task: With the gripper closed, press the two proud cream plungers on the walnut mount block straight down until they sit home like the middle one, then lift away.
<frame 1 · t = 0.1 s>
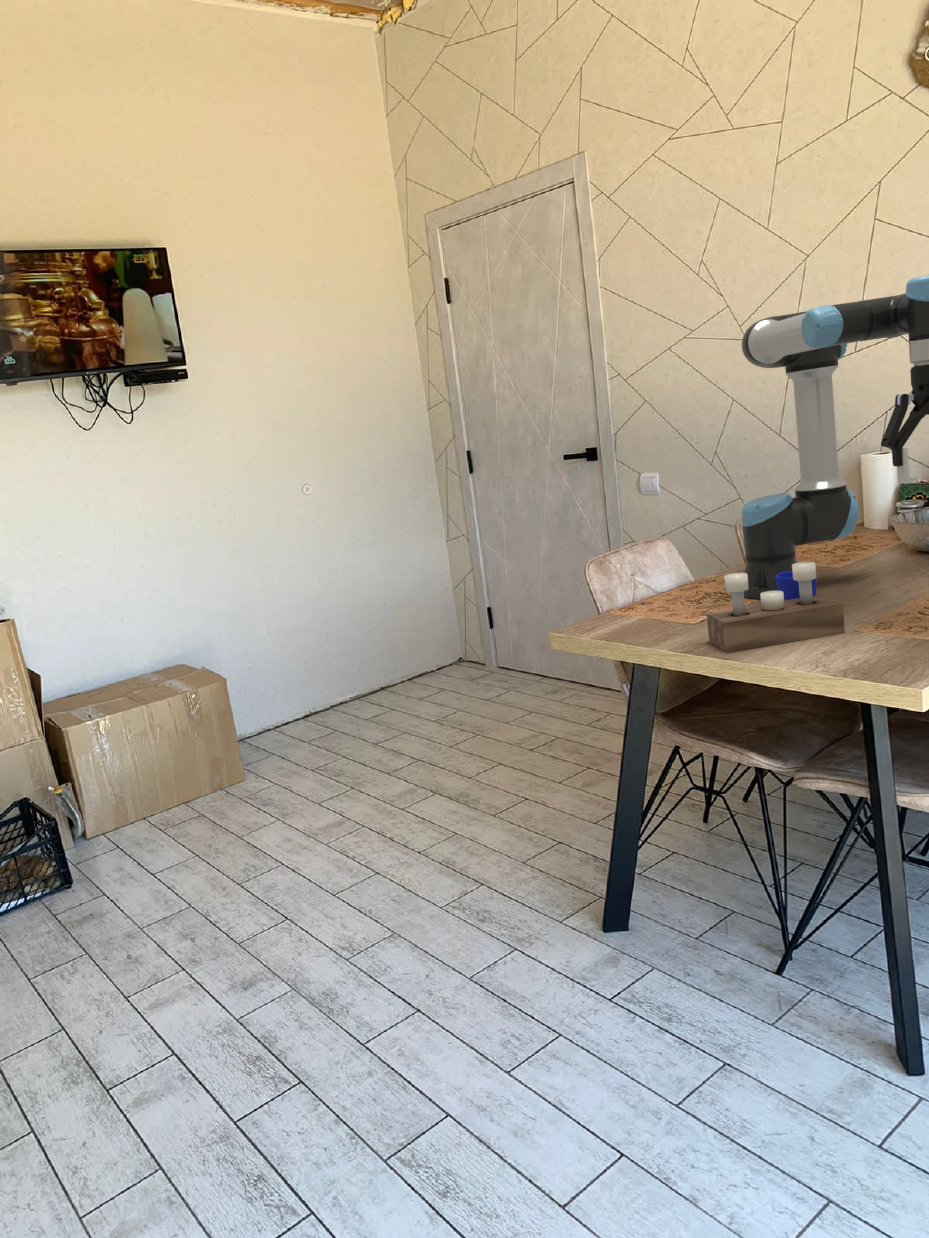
knob b: (773, 613, 188), point 5 cm above the table, slide at 4.8 cm
mount: (775, 637, 189), on the table
mug: (799, 618, 202), on the table
knob a: (737, 596, 186), point 10 cm above the table, slide at 0.0 cm
knob c: (805, 584, 187), point 10 cm above the table, slide at 0.0 cm
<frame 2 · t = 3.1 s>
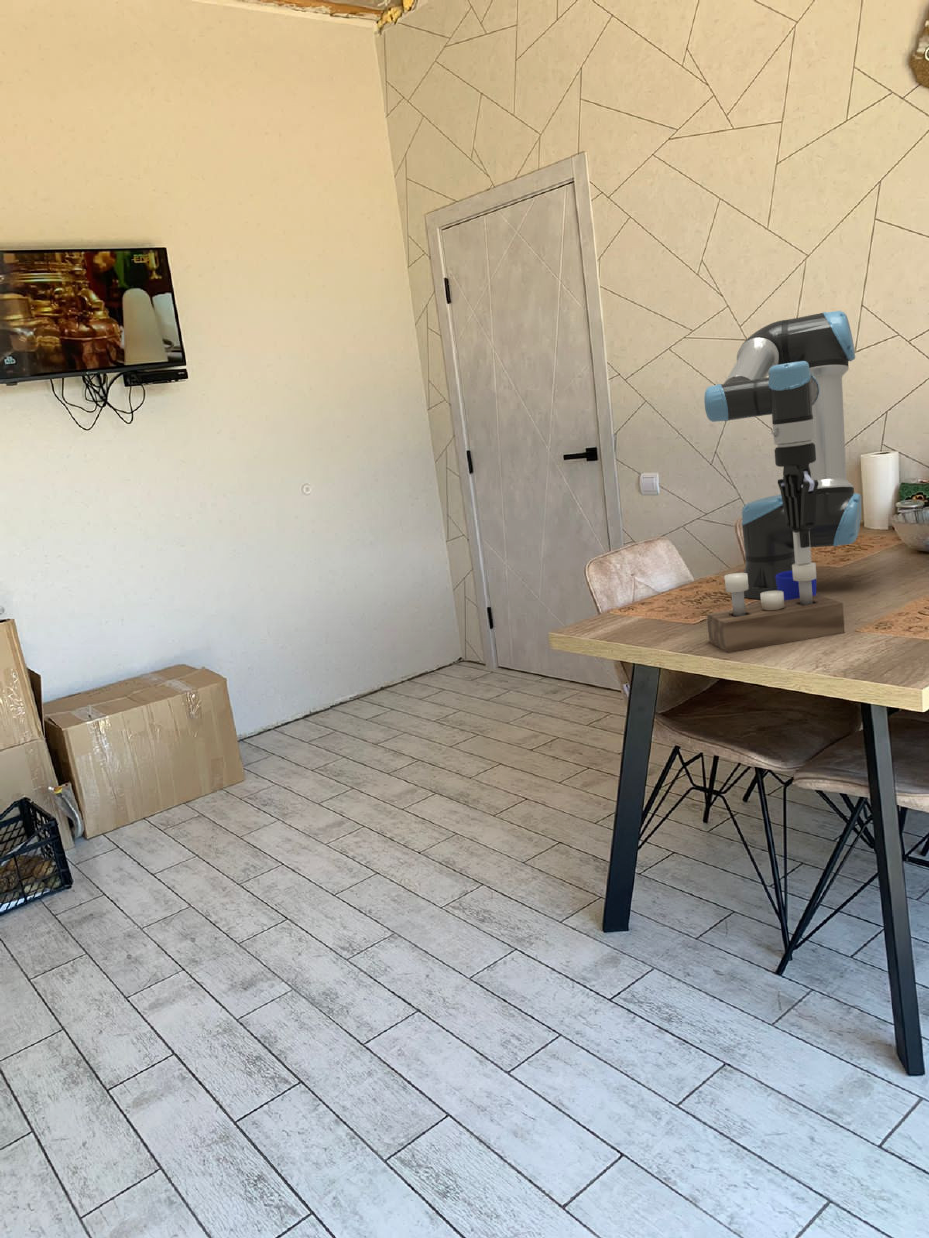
hand: (803, 563, 186), 14 cm above the table, fingers closed
knob c: (805, 585, 187), point 10 cm above the table, slide at 0.1 cm, touching gripper
everything else where it was.
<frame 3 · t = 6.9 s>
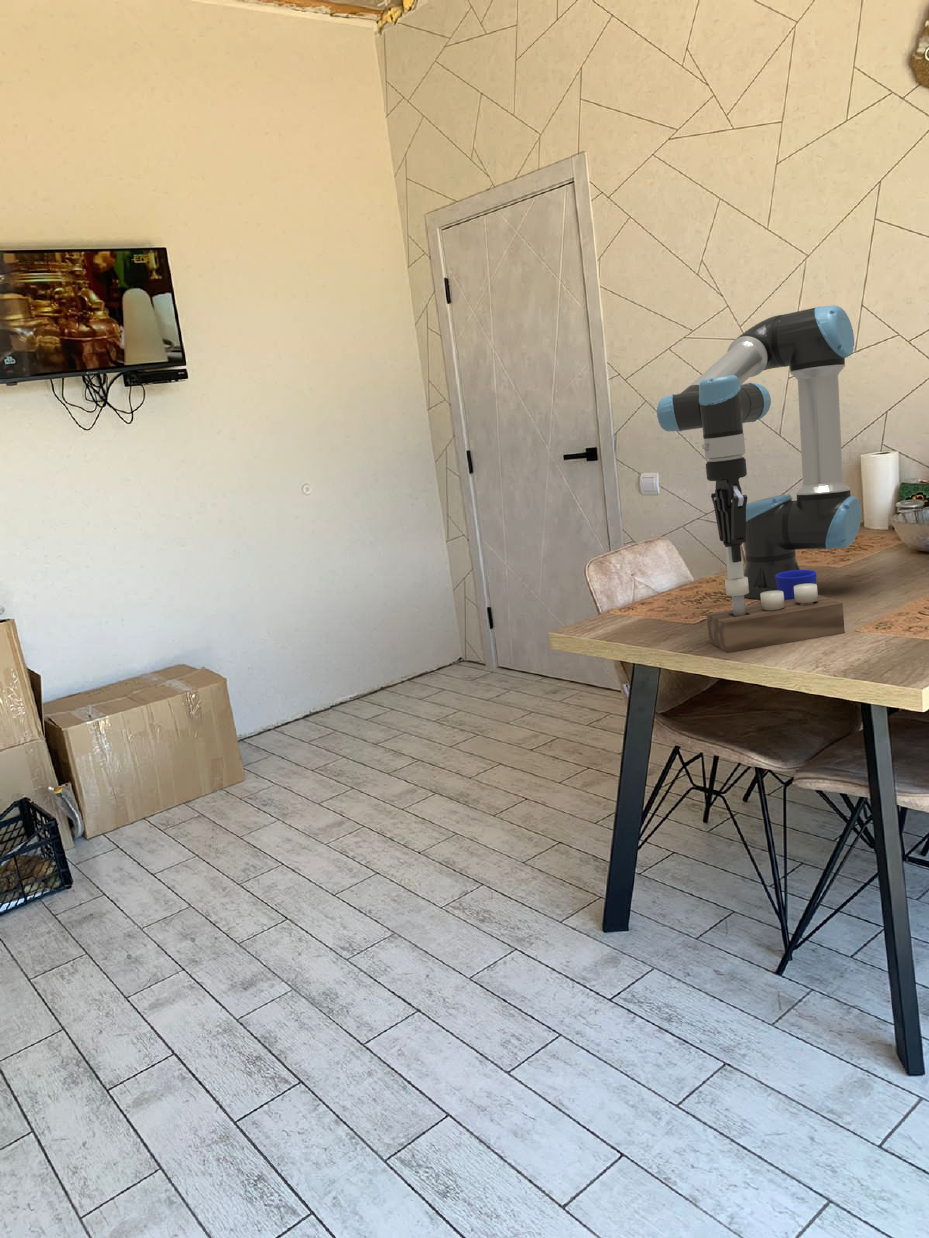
hand: (735, 577, 185), 14 cm above the table, fingers closed
knob a: (738, 599, 186), point 9 cm above the table, slide at 0.7 cm, touching gripper
knob c: (806, 606, 188), point 5 cm above the table, slide at 4.5 cm
everything else where it was.
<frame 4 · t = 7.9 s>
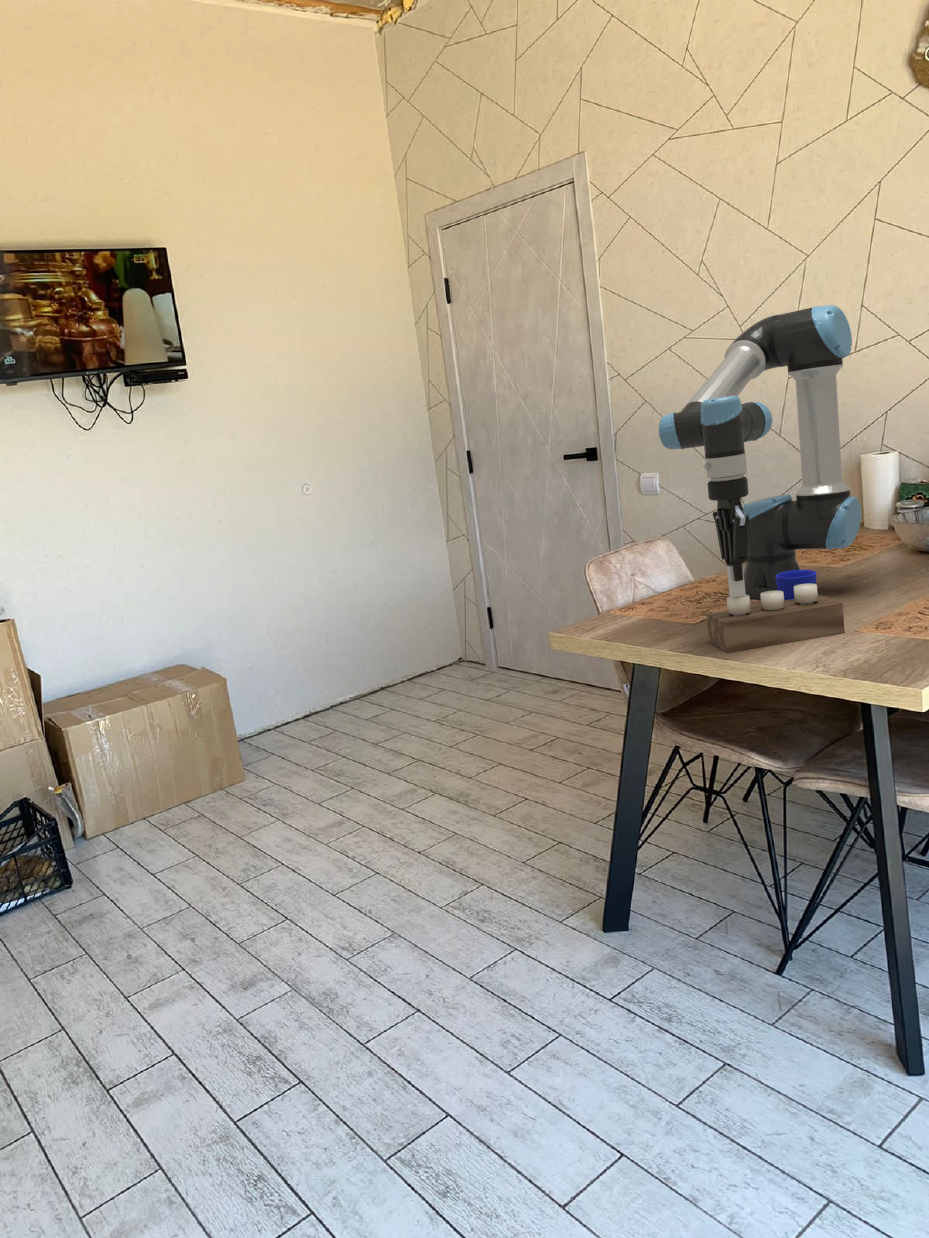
hand: (737, 596, 186), 10 cm above the table, fingers closed
knob a: (739, 618, 187), point 5 cm above the table, slide at 4.5 cm, touching gripper
everything else where it was.
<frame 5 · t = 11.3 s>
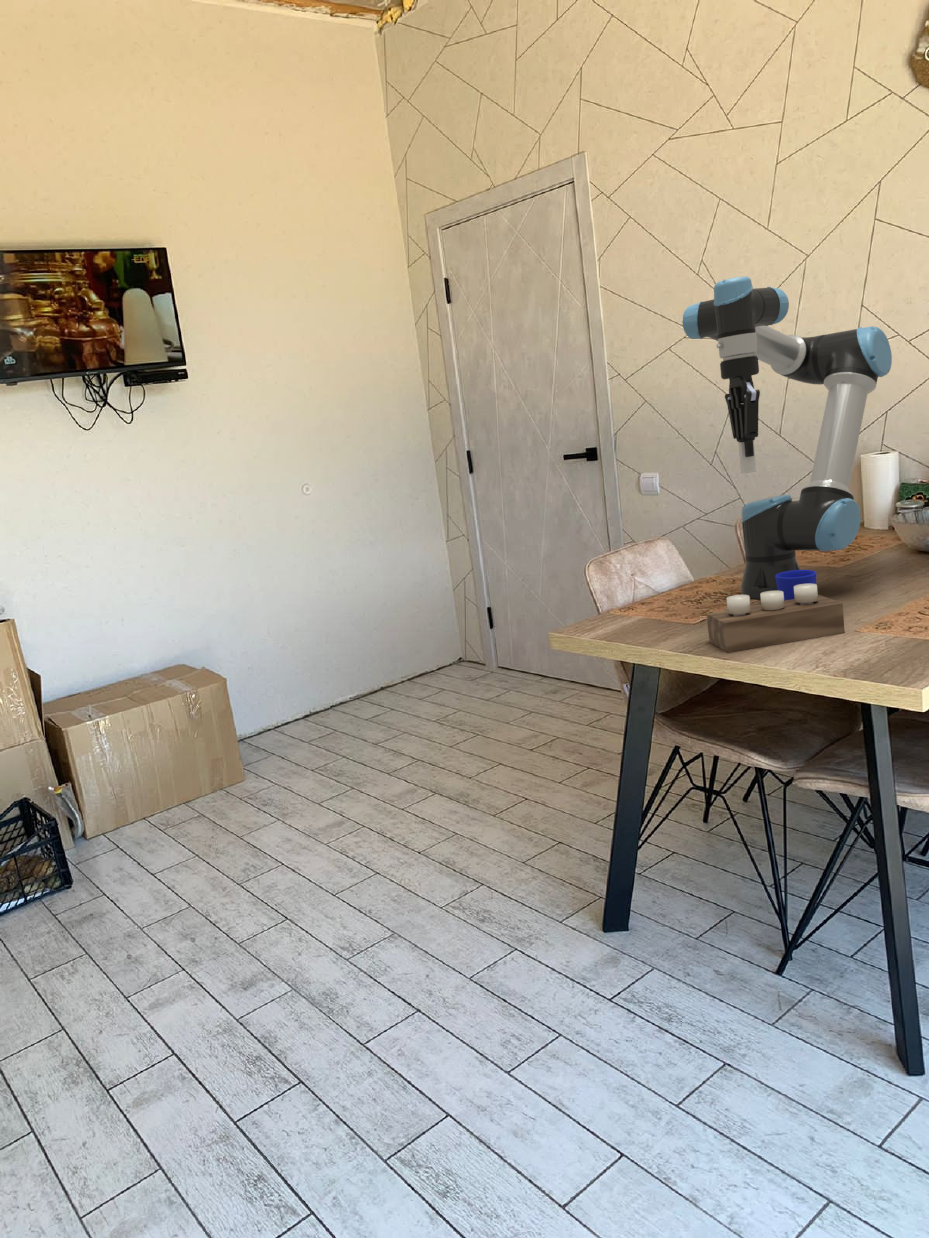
hand: (748, 472, 196), 32 cm above the table, fingers closed
knob a: (739, 618, 187), point 5 cm above the table, slide at 4.5 cm
everything else where it was.
at the end: knob c slide at 4.5 cm; knob a slide at 4.5 cm; knob b slide at 4.8 cm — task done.
